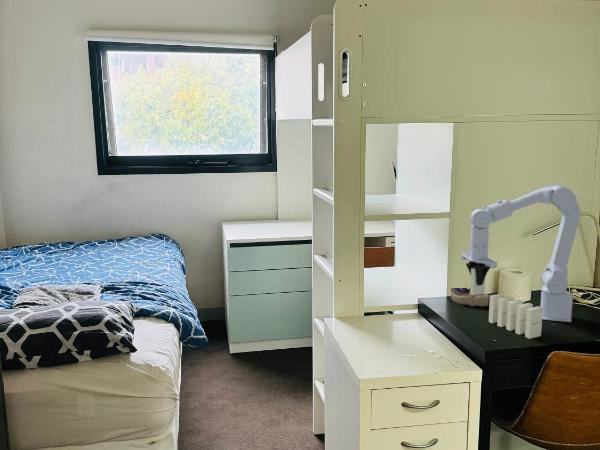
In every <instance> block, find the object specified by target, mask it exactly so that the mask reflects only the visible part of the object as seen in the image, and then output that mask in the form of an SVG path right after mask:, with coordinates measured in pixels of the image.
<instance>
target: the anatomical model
mask: <svg viewBox="0 0 600 450" xmlns="http://www.w3.org/2000/svg"><path fill="white" fill-rule="evenodd" d="M450 298H451V300H452V302H453V301H454V302H453V303H455V302H456V303H457V304H456V303H455V304H456V305H459V304H460V306H469V307H472V308H473V307H476V306H477V307H487V306H489V300H490V295H489V294H487V293H483V294H478V295H471V294H470V288H469V289H467V288H461V289H460V288H452V287H451V288H450Z"/></svg>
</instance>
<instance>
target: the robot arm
mask: <svg viewBox="0 0 600 450" xmlns="http://www.w3.org/2000/svg"><path fill="white" fill-rule="evenodd" d="M538 203H540V204H547V205H551V204H552V205H553V206H555V207H556V209H557V210H558V212H560V214H561V215H562V216H561V219H560V220H561V221H560V224H559V228H558V231H557V235H556V239H555V241H554V246H553V251H552V252H551V253H552V254H551V257H550V261H549V262H548V263H547V264H546V267H545V270H544V271H542V273H541V276H540V281H541V282H542V284H543V286H542V287H541V292H540V305H539V307H542V308H543V313H542V321H543V320H544V321H545V320H546V321H554V322H555V321H556V322H565V323H566V322H568V323H572V313H573V312H572V311H573V294H572V292H568V291H567V290H568V286H569V283H568V263H569V259H570V256H571V252H572V249H573V244H574V241H575V238H576V234H577V230H578V226H579V223H580V219H581V216H582V211H581V208H580V206H579V203H578V200H577V195H576V194H575V193H574V192H573V191H572V190H571V189H570V188H569V187H565V186H562V185H561V184H555V183H554V184H551V185H549V186H544V187H541V188H539V189H537V190H534V191H531V192H529V193H527V194H524V195H522V196H519V197H518V198H515V199H512V200H511V201H509V200H507V199H504V200H502V199H498V200H496V202H495V203H493V204H490V205H488V206H486V205H484V206H482V208H477V209H475V210H473V211H472V212H471V215H469V219H470V221H471V226H470V229H471V231H470V243H469V244H470V245H469V246H470V247H469V253H461V255H460V258H461V260H465V261H468V262H466V263H465V265H466V267H467V269H468V272H469V276H471V268H475V271H476V282H477V285H478V286H479V285H483V282H484V279H485V280H486V277H487V273H488V272H489V271H490V269H497V268H498V262H497V261H495V260H493V259H491V258H489V257H488V255H489V237H490V236H489V226H490V225H491V224H494V223H496V222H499V221H502V220H504V219H508V218H510V217H512V216H513V214H514V212H515V211H518V210H521V209H524V208H526V207H529V206H532V205H535V204H538Z"/></svg>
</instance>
